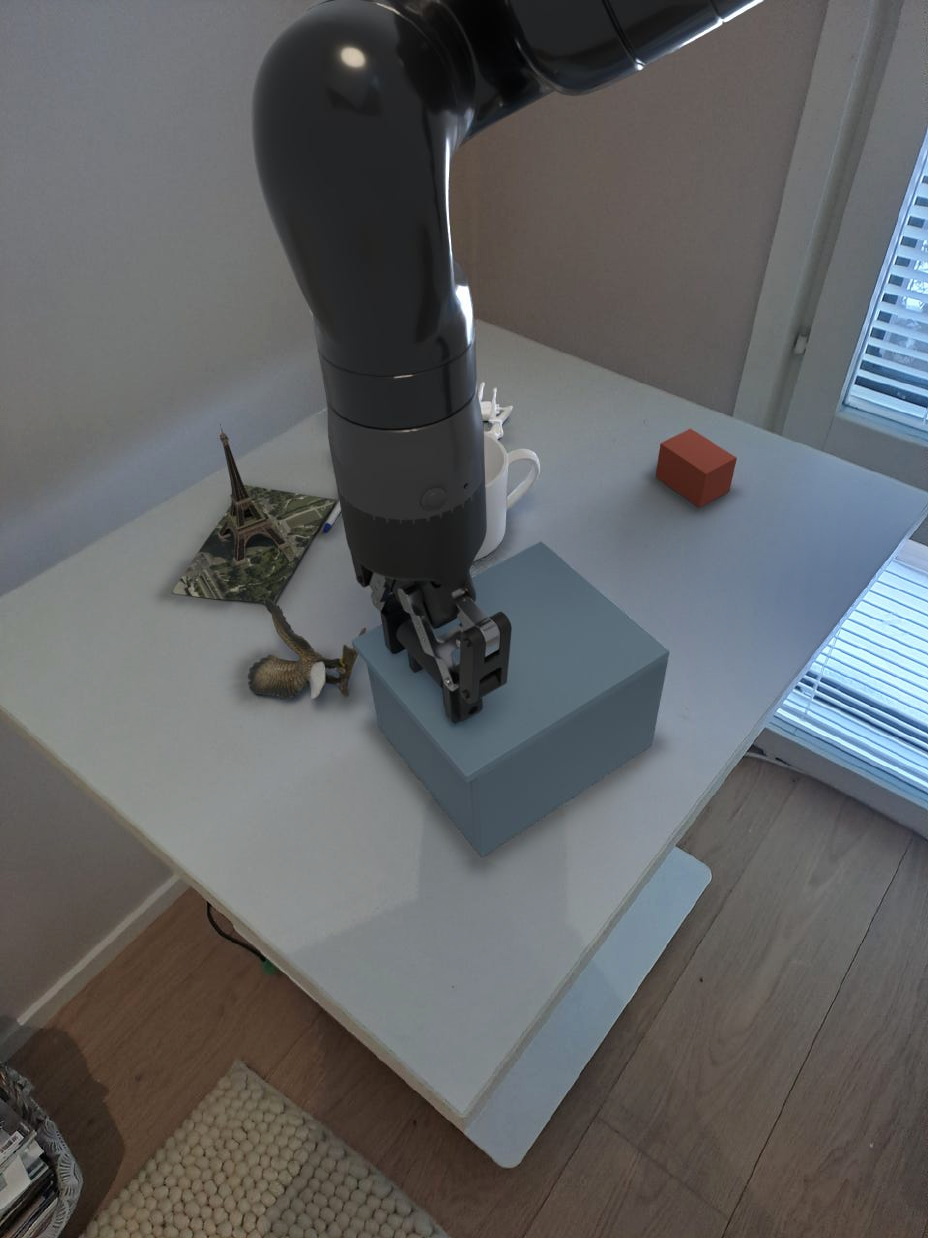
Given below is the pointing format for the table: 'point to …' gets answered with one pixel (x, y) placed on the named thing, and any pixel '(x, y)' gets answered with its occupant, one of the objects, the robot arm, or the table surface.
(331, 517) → the ballpoint pen
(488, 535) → the mug
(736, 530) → the table surface
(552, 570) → the box lid
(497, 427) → the figurine
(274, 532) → the eiffel tower figurine
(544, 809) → the blue-grey box
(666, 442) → the terracotta brick block
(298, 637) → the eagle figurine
